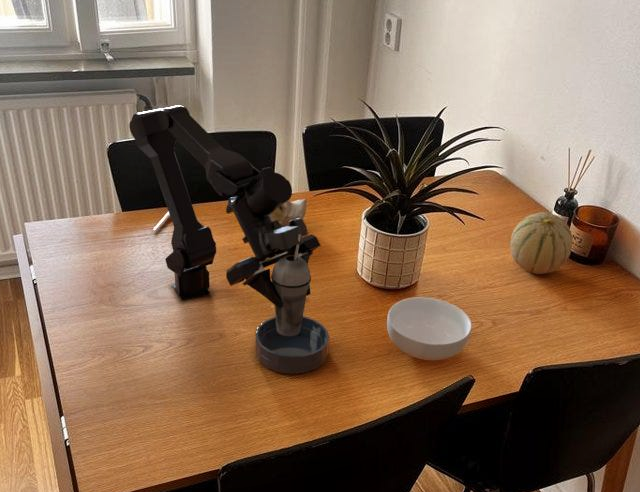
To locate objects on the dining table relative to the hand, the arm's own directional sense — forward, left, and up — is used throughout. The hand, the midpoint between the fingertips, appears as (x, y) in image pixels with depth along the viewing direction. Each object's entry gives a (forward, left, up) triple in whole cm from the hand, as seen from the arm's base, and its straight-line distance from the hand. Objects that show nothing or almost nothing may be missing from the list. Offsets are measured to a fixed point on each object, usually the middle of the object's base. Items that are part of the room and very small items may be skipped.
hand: (295, 301), depth 129 cm
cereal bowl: (+27, -6, -13) cm, 30 cm away
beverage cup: (0, +1, -7) cm, 7 cm away
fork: (-5, +68, -13) cm, 69 cm away
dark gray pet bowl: (+1, +2, -13) cm, 13 cm away
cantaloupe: (+71, +12, -13) cm, 73 cm away
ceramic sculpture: (+20, +53, -13) cm, 58 cm away
